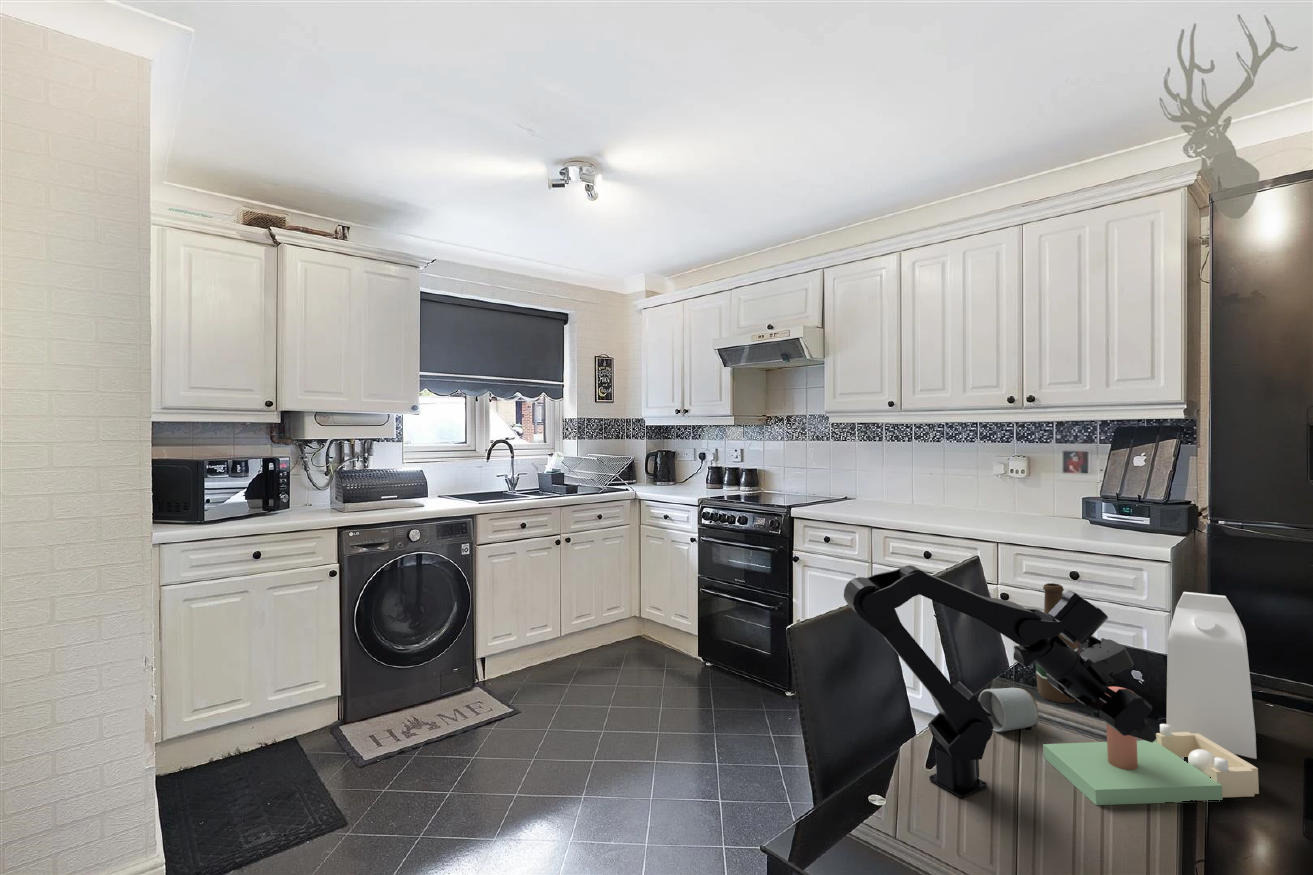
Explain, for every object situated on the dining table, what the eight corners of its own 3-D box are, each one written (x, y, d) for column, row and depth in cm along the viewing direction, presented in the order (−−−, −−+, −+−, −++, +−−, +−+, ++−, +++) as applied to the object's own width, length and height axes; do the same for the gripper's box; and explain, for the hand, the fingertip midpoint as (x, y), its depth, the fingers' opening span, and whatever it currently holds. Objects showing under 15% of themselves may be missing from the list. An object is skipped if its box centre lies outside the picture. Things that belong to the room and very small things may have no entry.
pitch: (1096, 805, 97) (1095, 789, 97) (1043, 757, 111) (1043, 744, 111) (1222, 800, 97) (1221, 785, 97) (1154, 753, 111) (1153, 739, 111)
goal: (1218, 798, 97) (1217, 763, 97) (1156, 755, 110) (1154, 723, 110) (1263, 796, 97) (1262, 761, 97) (1195, 753, 110) (1194, 722, 110)
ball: (1231, 773, 100) (1206, 779, 101) (1216, 772, 104) (1192, 778, 104) (1215, 746, 102) (1190, 752, 103) (1201, 746, 106) (1177, 752, 106)
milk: (1255, 732, 116) (1248, 591, 115) (1256, 758, 107) (1249, 607, 107) (1171, 714, 124) (1164, 583, 123) (1166, 738, 115) (1159, 597, 115)
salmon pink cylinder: (1129, 772, 101) (1126, 699, 101) (1102, 760, 105) (1099, 690, 104) (1143, 765, 103) (1140, 693, 103) (1116, 754, 107) (1113, 684, 106)
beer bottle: (1079, 692, 136) (1074, 581, 135) (1081, 706, 129) (1075, 590, 129) (1037, 686, 140) (1032, 578, 139) (1036, 699, 133) (1031, 587, 133)
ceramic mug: (1043, 732, 120) (1040, 692, 120) (1006, 739, 118) (1003, 698, 118) (1002, 709, 130) (999, 672, 130) (967, 715, 129) (965, 678, 129)
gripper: (1136, 646, 94) (1215, 716, 94) (1060, 610, 113) (1126, 668, 113) (1084, 700, 95) (1163, 770, 95) (1018, 655, 113) (1083, 713, 113)
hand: (1133, 725), depth 104 cm, fingers open, 9 cm apart
